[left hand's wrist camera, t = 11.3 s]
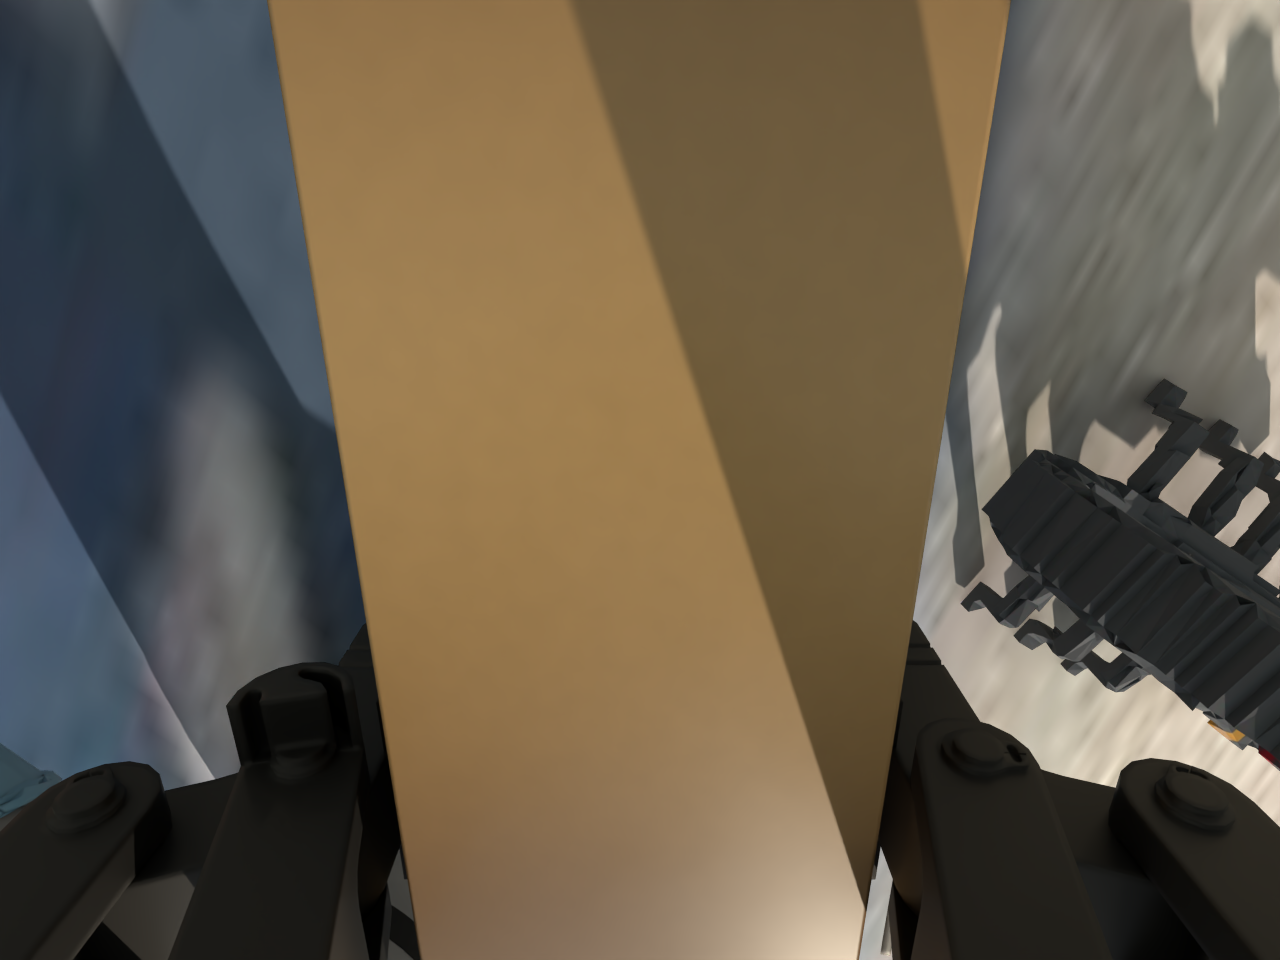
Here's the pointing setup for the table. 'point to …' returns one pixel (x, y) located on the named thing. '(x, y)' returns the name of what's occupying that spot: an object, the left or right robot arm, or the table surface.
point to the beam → (639, 438)
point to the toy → (1152, 574)
